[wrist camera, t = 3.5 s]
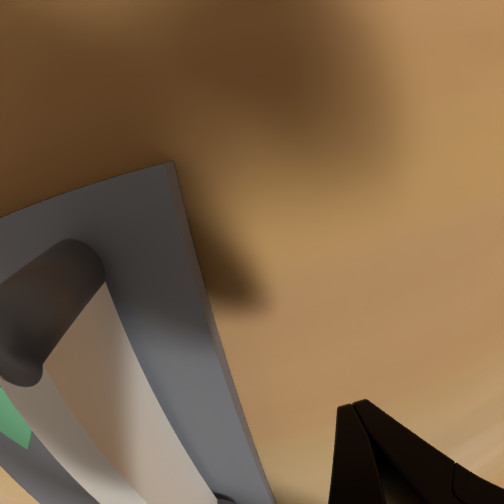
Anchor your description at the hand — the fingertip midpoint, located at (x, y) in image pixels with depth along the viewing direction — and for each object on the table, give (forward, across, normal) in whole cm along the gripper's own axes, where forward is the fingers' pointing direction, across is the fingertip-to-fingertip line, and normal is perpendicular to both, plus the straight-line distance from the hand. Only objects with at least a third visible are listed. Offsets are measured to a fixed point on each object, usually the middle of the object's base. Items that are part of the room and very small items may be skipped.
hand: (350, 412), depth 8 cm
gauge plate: (+3, +11, +2) cm, 12 cm away
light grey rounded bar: (+1, +6, +2) cm, 7 cm away
